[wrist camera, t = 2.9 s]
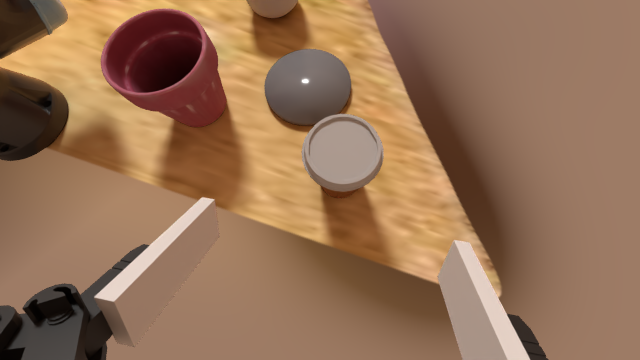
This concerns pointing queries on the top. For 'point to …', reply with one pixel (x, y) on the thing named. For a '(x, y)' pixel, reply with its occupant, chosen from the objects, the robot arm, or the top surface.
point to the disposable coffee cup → (342, 154)
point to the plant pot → (166, 66)
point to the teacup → (272, 7)
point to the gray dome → (307, 86)
